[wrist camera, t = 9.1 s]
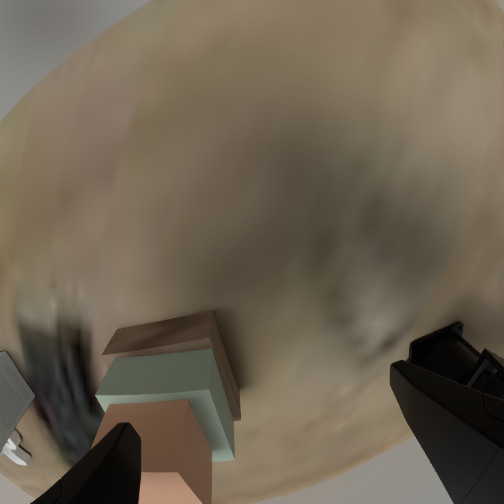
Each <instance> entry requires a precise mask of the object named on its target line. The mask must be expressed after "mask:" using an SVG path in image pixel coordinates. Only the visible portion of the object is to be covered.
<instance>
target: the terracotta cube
mask: <svg viewBox="0 0 504 504" xmlns="http://www.w3.org/2000/svg"><path fill="white" fill-rule="evenodd" d="M119 422H129V423H131V425H132V426H133V427H134V429H135V430H136V431H137V433H138V434H139V436H140V438H141V442H142V445H141V485H140V494H139V504H211V494H212V448H211V446H210V445H209V443H208V441H207V439H206V437H205V435H204V433H203V431H202V429H201V427H200V425H199V422H198V420H197V418H196V416H195V414H194V412H193V410H192V408H191V406H190V403H189V401H188V399H182V400H172V401H160V402H146V403H125V404H109V406H108V408H107V410H106V413H105V415H104V418H103V420H102V422H101V425H100V427H99V430H98V432H97V435H96V437H95V440H94V442H93V445H92V447H91V449H92V448H93V447H94V446H95V445H96V444H97V443H98V442H99V441H100V440H101V439H102V438H103V437H104V436H105V435H106V434H107V433H108V432H109V431H110V430H111V429H112V428H113V427H114V426H115V425H116V424H118V423H119Z"/></svg>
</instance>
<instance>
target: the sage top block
mask: <svg viewBox="0 0 504 504" xmlns="http://www.w3.org/2000/svg"><path fill="white" fill-rule="evenodd" d="M95 396H96V398H97V399H98V401H99V403H100V404H101V406H102V408H103V410H104V411H105V413H106V410H107V408H108V406H109V404H125V403H146V402H160V401H172V400H182V399H188V401H189V403H190V406H191V408H192V410H193V412H194V414H195V416H196V418H197V420H198V422H199V425H200V427H201V429H202V431H203V433H204V435H205V437H206V439H207V441H208V443H209V445H210V446H211V448H212V462H217V461H228V460H235V448H234V422H233V417H232V414H231V411H230V407H229V404H228V401H227V398H226V395H225V391H224V388H223V385H222V381H221V378H220V374H219V371H218V368H217V364H216V361H215V357H214V353H213V350H212V348H210V349H203V350H195V351H187V352H179V353H170V354H160V355H150V356H138V357H125V358H114V360H113V362H112V363H111V365H110V367H109V369H108V371H107V373H106V375H105V377H104V379H103V381H102V383H101V385H100V387H99V389H98V391H97V393H96V395H95Z"/></svg>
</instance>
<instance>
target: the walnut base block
mask: <svg viewBox="0 0 504 504" xmlns="http://www.w3.org/2000/svg"><path fill="white" fill-rule="evenodd" d="M210 348H212V350H213V353H214V357H215V361H216V364H217V368H218V371H219V374H220V378H221V381H222V385H223V388H224V391H225V395H226V398H227V401H228V404H229V407H230V411H231V414H232V417H233V421H239V420H241V411H240V394H239V387H238V385H237V382H236V379H235V376H234V373H233V370H232V368H231V365H230V362H229V359H228V356H227V353H226V350H225V347H224V344H223V341H222V338H221V335H220V332H219V329H218V326H217V323H216V320H215V317H214V314H213V311H208V312H203V313H199V314H194V315H189V316H184V317H179V318H174V319H169V320H164V321H159V322H154V323H149V324H144V325H138V326H133V327H128V328H122V329H117V331H116V332H115V334H114V335H113V337H112V339H111V340H110V342H109V344H108V345H107V347H106V349H105V350H104V352H103V354H102V355H101V356H102V358H103V360H104V361H105V363H106V365H107V367H108V369H109V367H110V365H111V363H112V362H113V360H114V358H125V357H138V356H150V355H160V354H170V353H179V352H187V351H195V350H203V349H210Z"/></svg>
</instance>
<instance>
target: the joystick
mask: <svg viewBox="0 0 504 504" xmlns="http://www.w3.org/2000/svg"><path fill="white" fill-rule="evenodd" d="M20 442H21V439H20V436H19V434H18V432H17V431H16V430H15V429H14V431H13V432H12V434H11V435H10V437H9V439H8V440H7V442H6V444H5V446H4V447H3V449H2V451H1V453H0V456H1V454H2V453H4V454H5V455H7V456H8V457H9V458H10V459H11V460H13V461H14V462H15V463H16V464H18V465H27V464H28V462H29V460H30V458H31V457H30V455H29V454H27V453H26V452H25V451H23V450H22V449H21V448H20V447H19V446H18V445H19V443H20Z"/></svg>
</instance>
